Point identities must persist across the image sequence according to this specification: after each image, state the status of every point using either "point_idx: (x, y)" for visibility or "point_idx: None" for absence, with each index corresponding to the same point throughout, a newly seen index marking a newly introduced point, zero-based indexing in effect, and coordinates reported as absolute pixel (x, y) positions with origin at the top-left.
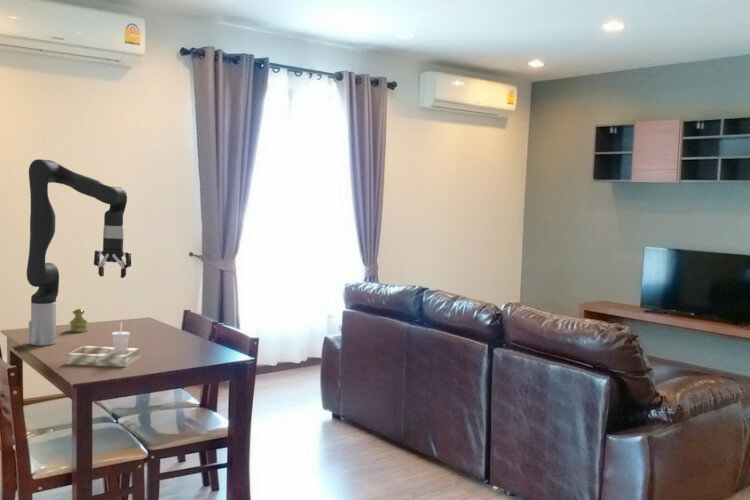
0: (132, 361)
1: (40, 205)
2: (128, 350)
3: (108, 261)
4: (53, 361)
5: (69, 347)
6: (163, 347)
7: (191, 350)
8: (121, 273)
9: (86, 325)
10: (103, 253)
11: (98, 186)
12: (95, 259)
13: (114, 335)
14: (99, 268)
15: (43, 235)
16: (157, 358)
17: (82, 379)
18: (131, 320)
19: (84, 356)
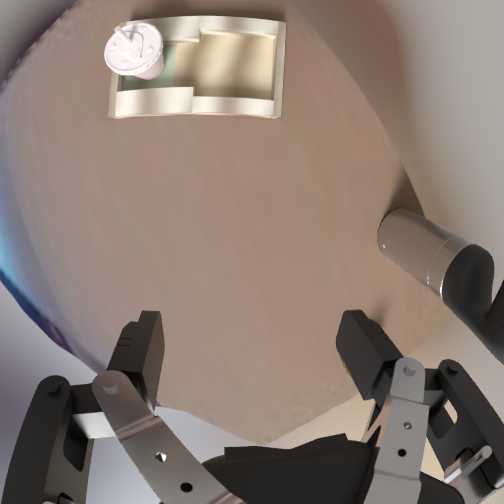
0: None
1: None
2: (132, 90)
3: (337, 441)
4: (320, 55)
5: (338, 202)
6: (104, 245)
7: (40, 228)
8: (145, 335)
9: (345, 368)
10: (446, 502)
11: None
12: (476, 400)
13: (148, 25)
14: (395, 357)
15: None
16: (76, 126)
17: None
18: (280, 432)
19: (234, 18)
